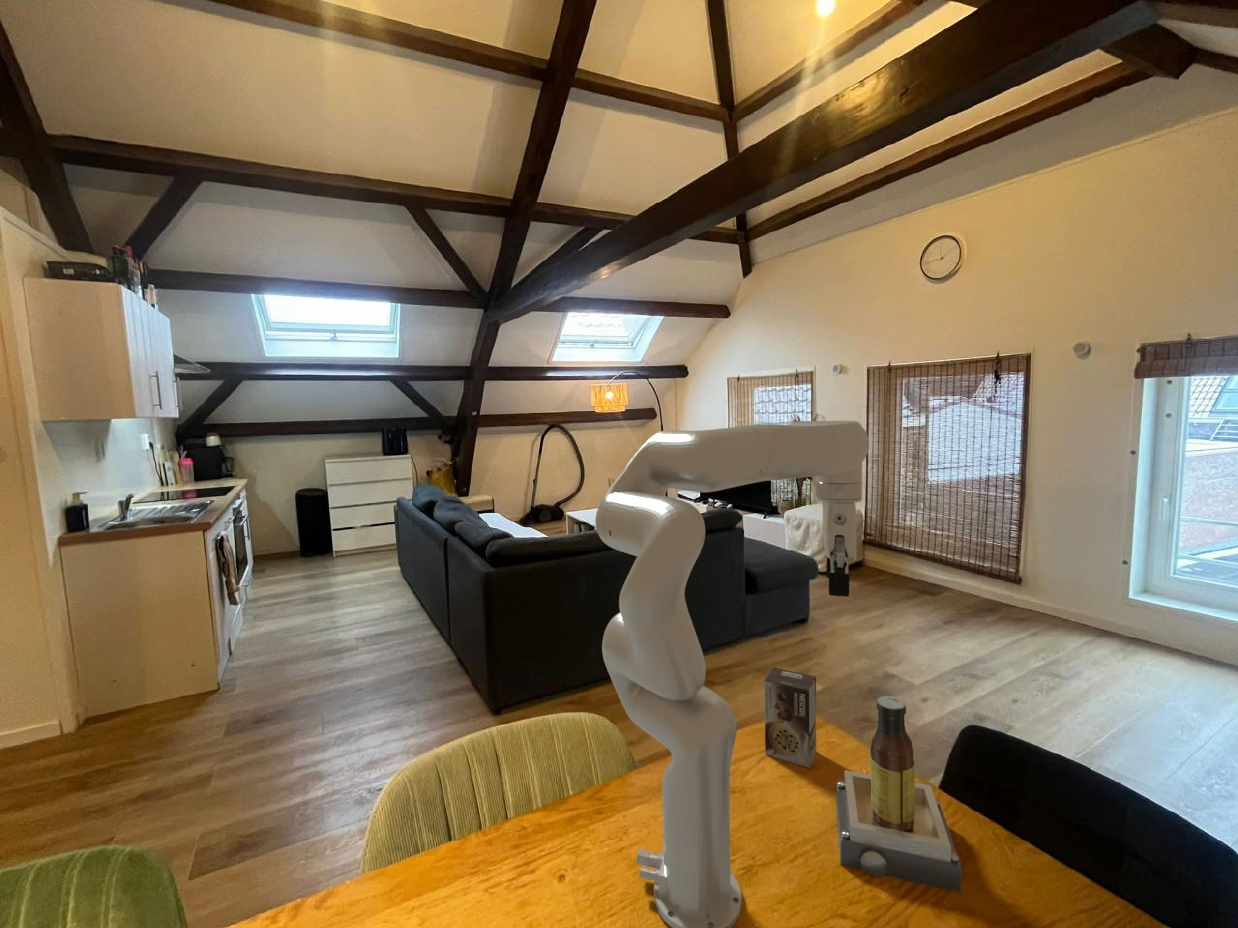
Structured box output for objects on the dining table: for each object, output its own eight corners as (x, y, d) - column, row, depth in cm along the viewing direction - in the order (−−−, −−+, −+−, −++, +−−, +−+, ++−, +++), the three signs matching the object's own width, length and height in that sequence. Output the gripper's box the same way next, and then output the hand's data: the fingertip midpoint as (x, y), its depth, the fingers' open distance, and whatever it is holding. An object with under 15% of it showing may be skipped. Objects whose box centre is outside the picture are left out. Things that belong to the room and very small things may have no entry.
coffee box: (817, 751, 110) (817, 676, 109) (809, 769, 105) (810, 690, 103) (772, 737, 115) (772, 665, 113) (763, 754, 110) (763, 679, 108)
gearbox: (841, 870, 82) (841, 830, 81) (835, 801, 96) (836, 767, 95) (962, 898, 77) (964, 856, 76) (937, 821, 91) (939, 785, 90)
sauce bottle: (904, 805, 89) (907, 691, 87) (922, 835, 83) (925, 713, 81) (863, 804, 90) (865, 690, 88) (877, 833, 83) (880, 711, 81)
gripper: (867, 500, 85) (865, 605, 87) (857, 484, 101) (855, 573, 103) (816, 499, 87) (815, 601, 89) (814, 484, 104) (814, 570, 105)
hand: (837, 586), depth 96 cm, fingers open, 9 cm apart
